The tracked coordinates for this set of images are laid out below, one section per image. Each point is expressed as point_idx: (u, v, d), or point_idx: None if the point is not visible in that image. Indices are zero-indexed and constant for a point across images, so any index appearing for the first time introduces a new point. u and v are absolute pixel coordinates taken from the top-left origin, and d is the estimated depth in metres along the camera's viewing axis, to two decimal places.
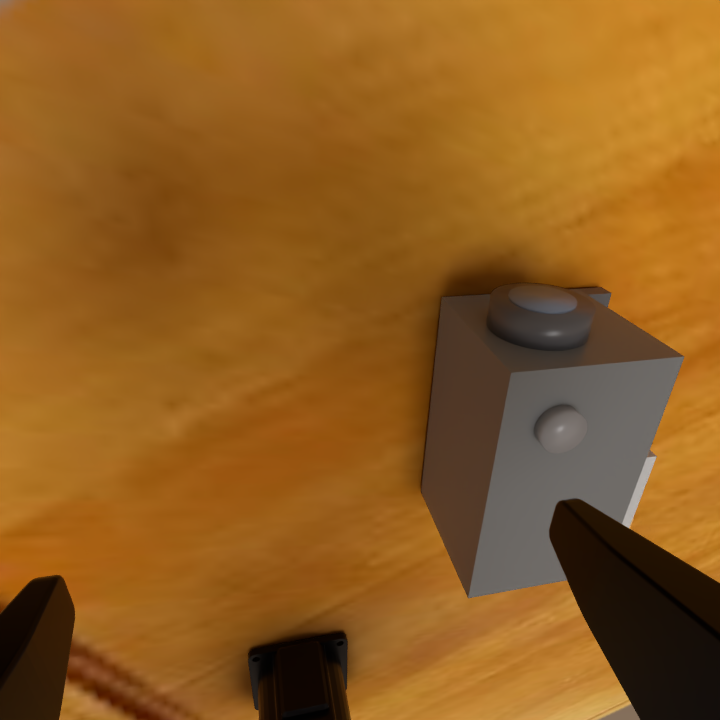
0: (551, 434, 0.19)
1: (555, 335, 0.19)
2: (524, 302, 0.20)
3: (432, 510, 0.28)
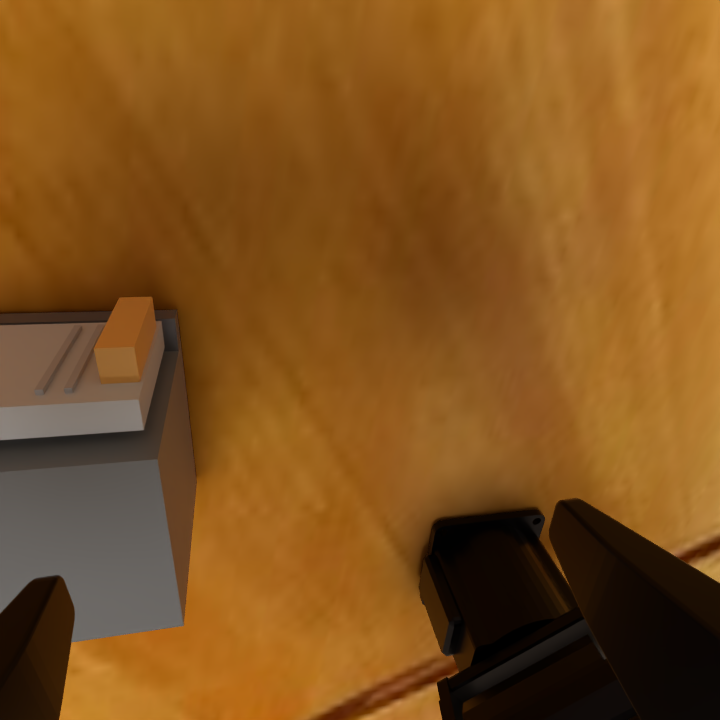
0: None
1: None
2: None
3: None
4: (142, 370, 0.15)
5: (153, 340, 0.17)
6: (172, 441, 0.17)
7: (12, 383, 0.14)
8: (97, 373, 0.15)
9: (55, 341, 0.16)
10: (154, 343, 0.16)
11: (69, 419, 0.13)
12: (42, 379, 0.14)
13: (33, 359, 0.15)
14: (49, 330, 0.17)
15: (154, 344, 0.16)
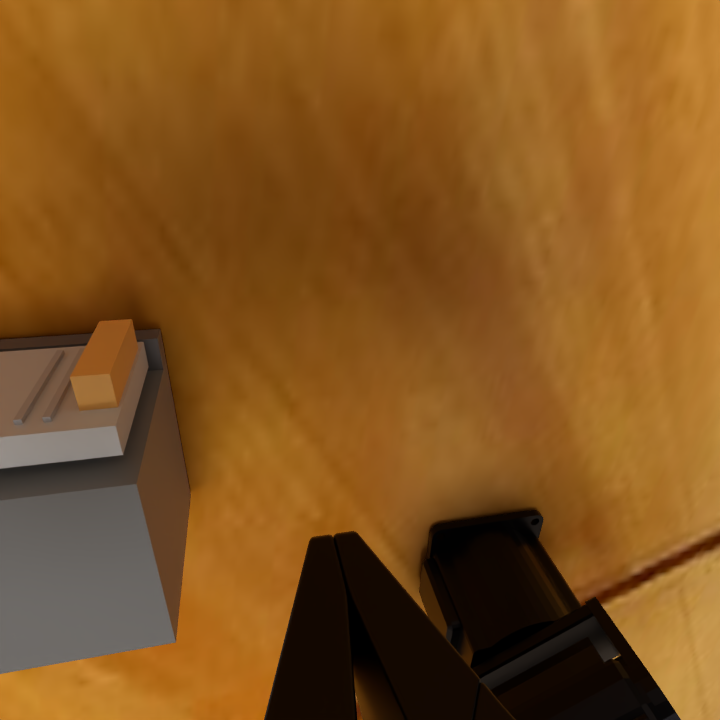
0: None
1: None
2: None
3: None
4: (121, 395, 0.15)
5: (133, 363, 0.17)
6: (156, 461, 0.17)
7: None
8: (76, 399, 0.15)
9: (38, 367, 0.16)
10: (135, 365, 0.17)
11: (48, 447, 0.14)
12: (21, 408, 0.14)
13: (15, 387, 0.15)
14: (32, 356, 0.17)
15: (135, 366, 0.17)
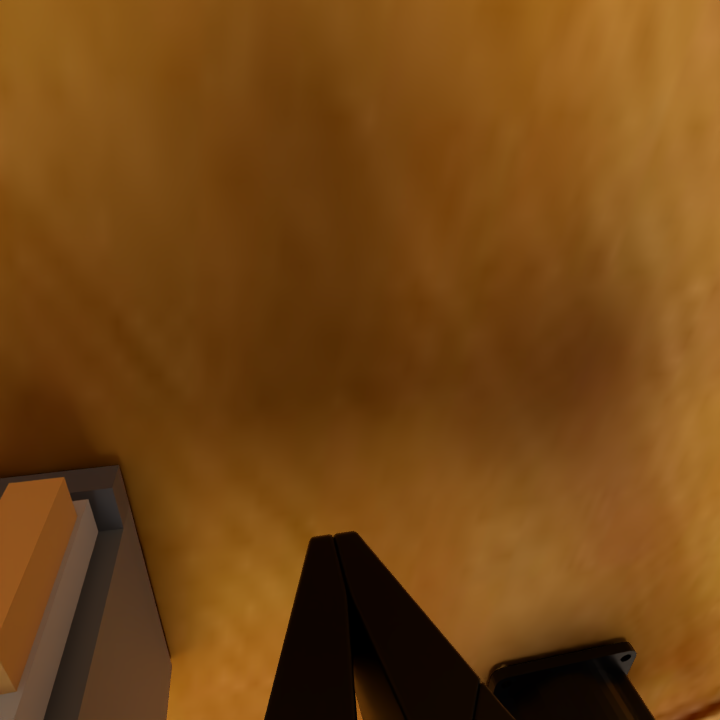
0: None
1: None
2: None
3: None
4: (27, 654, 0.08)
5: (65, 555, 0.10)
6: None
7: None
8: None
9: None
10: (66, 562, 0.10)
11: None
12: None
13: None
14: None
15: (66, 565, 0.10)
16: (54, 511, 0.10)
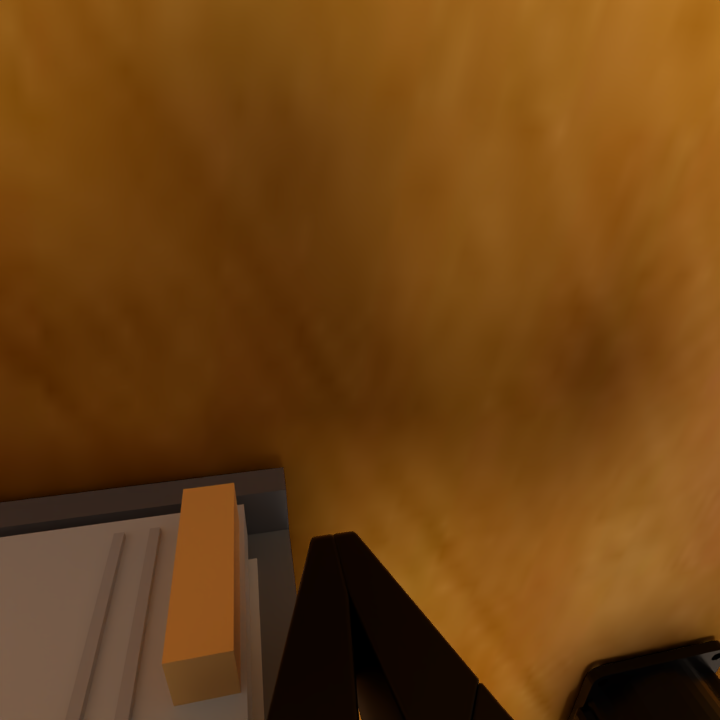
0: None
1: None
2: None
3: None
4: (240, 656, 0.09)
5: (241, 559, 0.10)
6: None
7: (17, 719, 0.08)
8: (163, 669, 0.08)
9: (86, 576, 0.10)
10: (244, 566, 0.10)
11: None
12: (70, 712, 0.08)
13: (52, 634, 0.09)
14: (74, 545, 0.10)
15: (244, 569, 0.10)
16: None
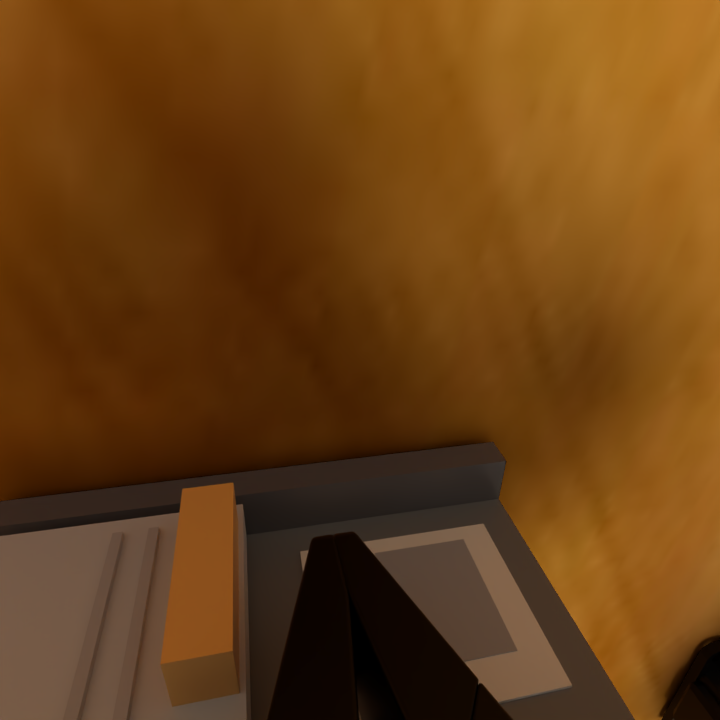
0: None
1: None
2: None
3: None
4: (239, 657, 0.08)
5: (240, 559, 0.10)
6: None
7: (14, 719, 0.08)
8: (162, 670, 0.08)
9: (84, 575, 0.10)
10: (243, 566, 0.10)
11: None
12: (68, 713, 0.08)
13: (50, 634, 0.09)
14: (73, 545, 0.10)
15: (243, 569, 0.10)
16: None
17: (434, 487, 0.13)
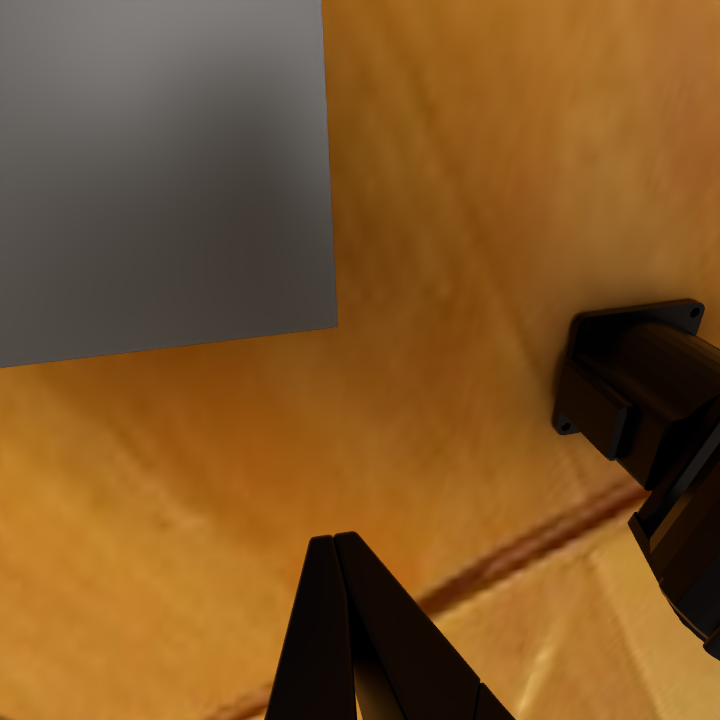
0: None
1: None
2: None
3: None
4: None
5: None
6: None
7: None
8: None
9: None
10: None
11: None
12: None
13: None
14: None
15: None
16: None
17: None
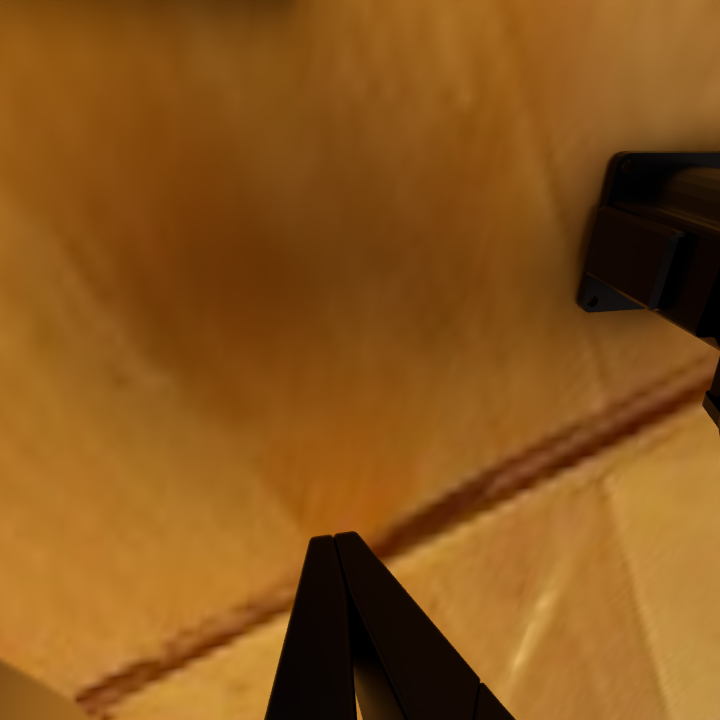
0: None
1: None
2: None
3: None
4: None
5: None
6: None
7: None
8: None
9: None
10: None
11: None
12: None
13: None
14: None
15: None
16: None
17: None
